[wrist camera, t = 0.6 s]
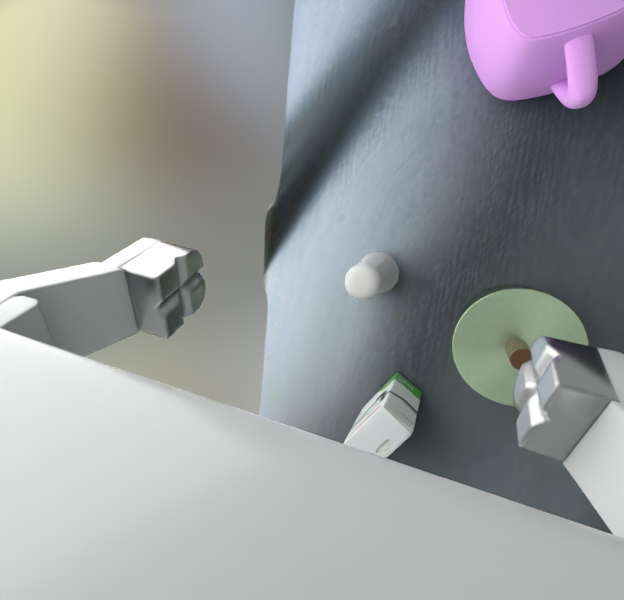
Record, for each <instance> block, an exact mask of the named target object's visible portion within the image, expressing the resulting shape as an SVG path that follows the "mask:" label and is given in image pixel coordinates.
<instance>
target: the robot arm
mask: <svg viewBox="0 0 624 600" xmlns="http://www.w3.org/2000/svg"><path fill="white" fill-rule="evenodd" d="M202 267H203V262H202V255H201V254H200V253H199V252H198V251H197V250H194V249H190V248H186V247H182V246H178V245H175V244H171V243H167V242H163V241H160V240H156V239H151V238H142V239H140V240H138V241H137V242H135V243H134V244H132V245H130V246H128V247H127V248H125V249H123V250H122V251H120V252H118V253H117V254H115V255H114V256H112V257H110V258H108V259H107V260H105V261H103V262H102V263H98V262H92V263H87V264H82V265H77V266H72V267H67V268H62V269H57V270H52V271H47V272H42V273H37V274H33V275H27V276H22V277H17V278H12V279H7V280H2V281H0V600H624V355H623V354H622V353H621V352H616V351H612V350H607V349H602V348H597V347H591V346H587V345H582V344H578V343H574V342H569V341H565V340H560V339H556V338H551V337H547V336H542V335H539V336H538V338H537V339H536V340H535V341H534V343H533V345H532V347H531V348H530V352H531V358H532V360H530V361H528V362H526V363H524V364H522V365H521V367H520V369H519V371H518V373H517V375H516V379H515V383H514V386H513V404H514V406H515V407H516V408H517V410H518V411H519V412H520V414H519V416H518V418H517V419H516V429H517V437H518V445H519V447H522V448H525V449H528V450H531V451H534V452H537V453H540V454H543V455H546V456H549V457H552V458H555V459H558V460H561V461H564V462H563V464H564V465H565V467H566V468H567V470H568V471H569V472H570V474H571V475H572V477H573V478H574V480H575V481H576V482H577V484H578V485H579V487H580V488H581V489H582V491H583V492H584V494H585V495H586V497H587V498H588V499H589V501H590V502H591V504H592V505H593V506H594V508H595V509H596V511H597V512H598V513H599V515H600V516H601V518H602V519H603V521H604V522H605V523H606V525H607V526H608V528H609V529H610V530H611V532H612V533H613V535H612V534H609V533H606V532H603V531H600V530H597V529H594V528H591V527H588V526H585V525H582V524H579V523H576V522H573V521H570V520H567V519H565V518H562V517H559V516H556V515H553V514H550V513H547V512H544V511H541V510H538V509H535V508H532V507H529V506H526V505H523V504H520V503H517V502H514V501H511V500H508V499H505V498H502V497H499V496H496V495H493V494H490V493H487V492H484V491H481V490H479V489H476V488H473V487H470V486H467V485H464V484H461V483H458V482H455V481H452V480H449V479H446V478H443V477H440V476H437V475H434V474H431V473H428V472H425V471H422V470H419V469H416V468H413V467H410V466H407V465H404V464H401V463H398V462H396V461H393V460H390V459H387V458H384V457H381V456H378V455H375V454H372V453H369V452H366V451H363V450H360V449H357V448H354V447H351V446H348V445H345V444H342V443H339V442H336V441H333V440H330V439H327V438H324V437H322V436H319V435H316V434H313V433H310V432H307V431H304V430H301V429H298V428H295V427H292V426H289V425H286V424H283V423H280V422H277V421H274V420H271V419H268V418H265V417H262V416H259V415H256V414H253V413H250V412H248V411H245V410H242V409H239V408H236V407H233V406H230V405H227V404H224V403H221V402H218V401H215V400H212V399H209V398H206V397H203V396H200V395H197V394H194V393H191V392H188V391H185V390H182V389H179V388H176V387H173V386H170V385H167V384H164V383H161V382H158V381H155V380H152V379H149V378H146V377H143V376H140V375H137V374H134V373H131V372H128V371H125V370H122V369H119V368H116V367H113V366H110V365H107V364H105V363H101V362H98V361H96V360H93V359H90V358H87V357H84V356H86V355H88V354H91V353H93V352H95V351H97V350H100V349H102V348H104V347H107V346H109V345H111V344H113V343H116V342H118V341H120V340H122V339H125V338H127V337H129V336H131V335H133V334H136V333H138V332H139V331H141V332H145V333H149V334H152V335H156V336H160V337H163V338H167V339H168V338H169V337H170V336H171V335H172V334H173V333H174V332H175V331H176V330H177V329H178V328H179V327H180V326H181V325H183V323H184V322H183V317H185V316H188V315H191V314H194V312H195V311H196V310H197V309H198V308H199V307H200V305H201V303H202V301H203V299H204V294H205V281H204V279H203V278H202V276H201V275H200V273H199V271H200V270H201V268H202Z"/></svg>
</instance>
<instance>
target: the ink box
mask: <svg viewBox="0 0 624 600" xmlns="http://www.w3.org/2000/svg"><path fill="white" fill-rule="evenodd" d="M421 394H422V393H421V392H420V391H419V390H418V389H417V388H416V387H415V386H413V385H412V384H411V383H410V382H409V381H408V380H406V379H405V378H404V377H403V376H401V375H400V374H399V373H396V374H395V375H394V376H393V377H392V378H391V379H390V380H389V381H388V382H387V383H386V384H385V385H384V386H383V387H382V389H381V390H380V391H379V392H378V393H377V394H376V395H375V396H374V397H373V398H372V399H371V400H370V401H369V402H368V403H367V404H366V405H365V406H364V407H363V409H362V410H361V412H360V414H359V416H358V418H357V420H356V422H355V423H354V425H353V427H352V429H351V431H350V433H349V435H348V436H347V438H346V440H345V442H344V444H345V445H348V446H351V447H354V448H357V449H360V450H363V451H366V452H369V453H372V454H375V455H378V456H381V457H384V458H387V457H388V456H389V455H390V454H392V453H393V452H394V450H395V449H396V448H398V447H399V446H400V445H401V444H402V443H404V441H405V440H406V439H408V438H409V437H410V436H411V435H412V433H413V430H414V425H415V421H416V417H417V412H418V408H419V404H420V399H421Z"/></svg>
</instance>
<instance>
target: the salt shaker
mask: <svg viewBox="0 0 624 600" xmlns="http://www.w3.org/2000/svg"><path fill="white" fill-rule="evenodd" d="M398 277H399V269H398V265H397V262H396V261H395V260H394V259H393V258H392V257H391V256H390V255H388V254H385V253H383V252H372V253H370V254H368V255H367V256H365V257H364V258H363V259H362V260H361V262H360V263H358V264H356V265H355V266H353V267H351V268H350V270H349V271H348V273H347V274H346V279H345V285H346V289H347V291H348V292H349V293H350V294H351V295H352V297H355V298H357V299H359V300H366V299H371V298H372V297H374V296H376V295H377V294H378V293H385V292H387V291H389V290H391V289H392V288H393V287H394V286H395V284H396V283H397V281H398Z"/></svg>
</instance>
